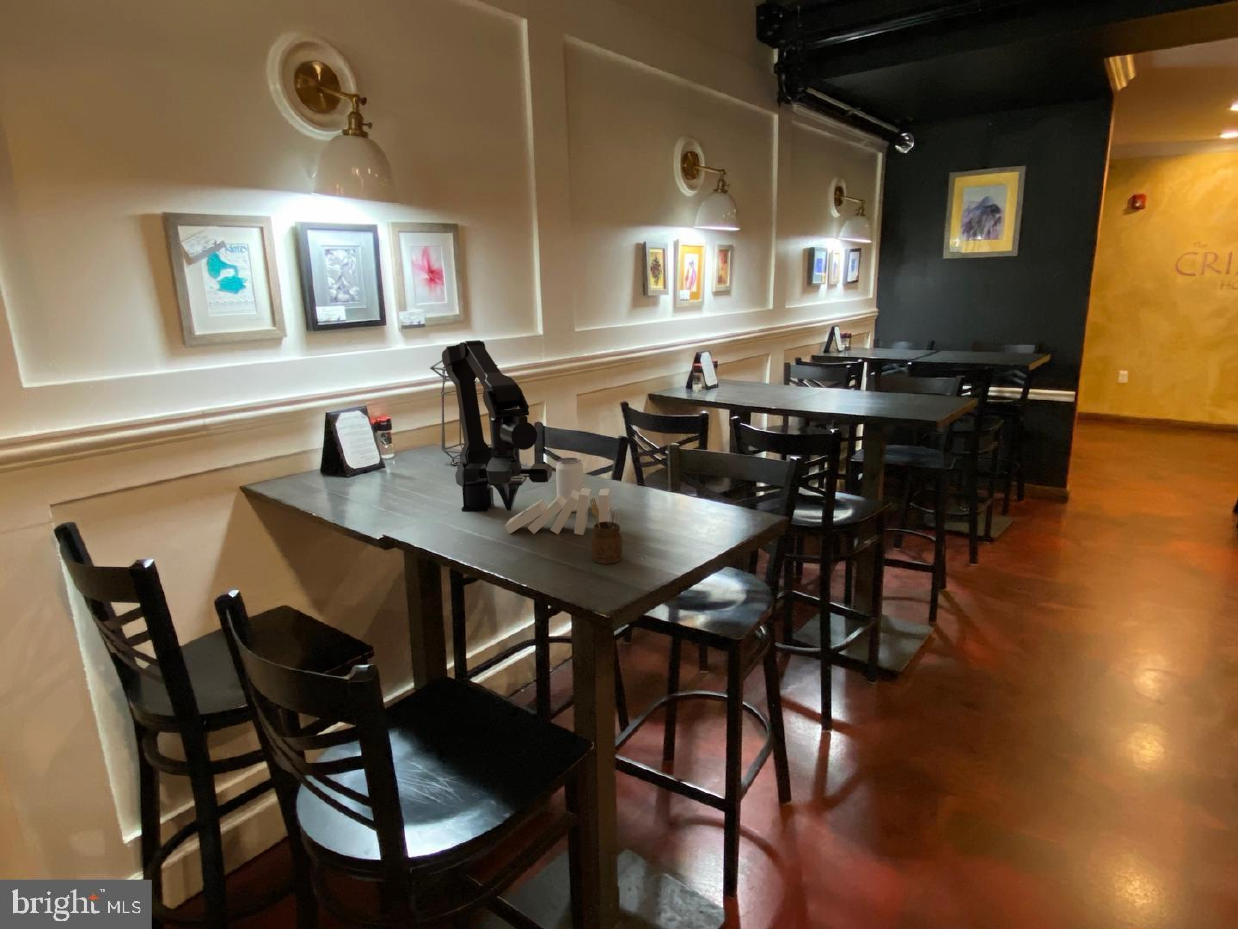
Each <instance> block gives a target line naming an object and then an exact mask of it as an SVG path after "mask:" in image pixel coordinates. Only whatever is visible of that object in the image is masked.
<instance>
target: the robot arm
mask: <svg viewBox="0 0 1238 929" xmlns="http://www.w3.org/2000/svg"><path fill="white" fill-rule="evenodd" d="M441 360H442V362H441V363H442V364H443V367H444V366H445V368H446V371H445V374H446V376H449V377H450V378H451V380H452V381H453V382H454V383H455V385H454V386H455V391H456V394H457V395H456V397H457V406H458V413H459V412H460V418H461V432H462V438H463V443H464V445H462V446H463V447H462V448H463V449H461V451H460V452H461V453H459V454H460V456H458V458H460V459H459V460H460V462H458V465H459V466H457V469H456V471H455V474H454V476H455V477H454V478H455V482H456V484H457V485H458V486H460V488H462V490H461V492H462V501H463V503H462V505H463V506H462V507H461V508H460V509H461V511H466V512H467V511H469V512H470V511H471V512H473V511H474V512H475V511H476V512H477V511H478V512H479V511H481V512H485V511H486V512H487V511H489V509H491V507H492V506H494V504H495V502H494V488H495V489H496V490H497V492H498V494H499V496H500V497H501V498H500V499H501V500H502V503H503V505H504V507H505V509H506V511H507V512H511V511H512V510H513V507H514V504H515V499H516V496H517V493H518V490H519V488H520V487H521V486H523V484H524V483H525V482H526V480H527V478H528V479H529V480H530V481H531V483H549V481H550V480H551V478H552V477H553V468H552V466H551V464H550V463H533V464H532V466H531V467H529V468H526V467H524V468H523V467H522V462H521V456H520V454H521V453H520V451H521V450H522V451H526V450H529V449H530V448H532V447H533V446H535V444H536V442H537V440H538V431H537V429H536V427H535V426H534V424H532V423H530V422H529V420H528V416H530V411H529V408H530V405H529V404H528V401H527V399H526V397H525V395H524V393H523V390H522V388H521V387H520V385H519V384H518V383H517V381H515V379H513V378H512V377H510V376H508V375H506V374H503V373H502V371H501V370H500V369H499V367H498V366H496V365H497V364H496V362H495V361H494V360H493V358H492V356H491V355H490V354H489V352H488V351H487V349H486V344H485V342H484V341H483V340H479V339H476V340H474V339H473V340H464V341H463V342H462V341H461V342H460V343H459V344H455V345H449V346H448V345H447V346H446V347H445V349H444V350H443V351H441ZM450 378H449V379H450ZM476 379H478V381H479V383H480V385H481V386H482V387H483V390H484V391H482V392H483V394H482V399H483V400H482V401H483V403H484V406H485V407H486V410H487V411H488V412H489V413H488V419H489V418H491V433H492V447H491V446H488V445H487V444H488V443H486V441H485V437H484V432H483V431H484V430H483V423H482V417H481V413H480V412H481V411H480V404H479V398H478V395H477V392H478V391H476V390H477V385H476V383H475V381H476ZM451 380H450V381H451ZM452 381H451V382H452ZM453 382H452V383H453ZM454 383H453V384H454Z"/></svg>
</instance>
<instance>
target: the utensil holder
mask: <svg viewBox="0 0 1238 929" xmlns="http://www.w3.org/2000/svg"><path fill="white" fill-rule="evenodd" d="M589 504H590V507H591V511H592V515H593V516H595V521H596V522H595V524H594V525H593V529H592V530H593V534H592V537H591V555H592V556H591V557H592V559H593V561H594V562H596V563H598V564H603V565H610V564H611V565H612V564H616V563H618V562H620V561H621V560H622V557H623V538H622V534H621V533H620V532H621V527H620V523H619V520H620V513H621V512H620V509H619V508H618V507H617V506H616V507H613V506H612V507H610V510H609V511H610V514H613V513H614V512H615V518H617V519H614V520H613V517H612V515H610V518H611V522H610V521H605V522H599V507H598V505H597V501H596V498H595V497H593V498H590V502H589ZM613 509H614V510H615V511H614V512H613V511H611V510H613ZM608 513H609V512H608ZM617 513H618V514H617ZM608 515H609V514H608ZM617 515H618V517H617ZM607 518H608V517H607ZM612 520H613V521H612ZM616 520H617V522H616Z"/></svg>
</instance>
